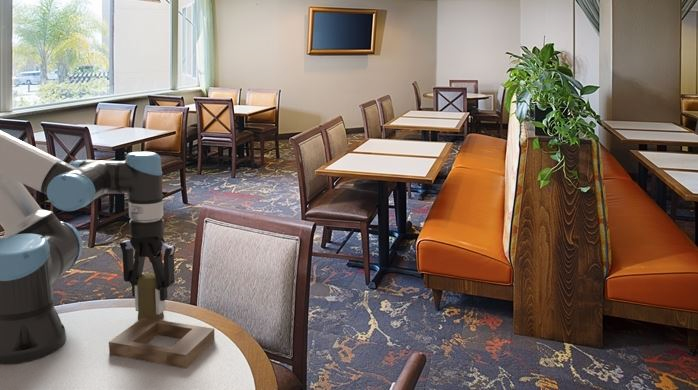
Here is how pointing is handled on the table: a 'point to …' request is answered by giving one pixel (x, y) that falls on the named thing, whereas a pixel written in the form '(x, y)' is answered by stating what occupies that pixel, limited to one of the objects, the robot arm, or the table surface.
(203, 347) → the brown picture frame
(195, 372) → the table surface
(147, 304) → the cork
